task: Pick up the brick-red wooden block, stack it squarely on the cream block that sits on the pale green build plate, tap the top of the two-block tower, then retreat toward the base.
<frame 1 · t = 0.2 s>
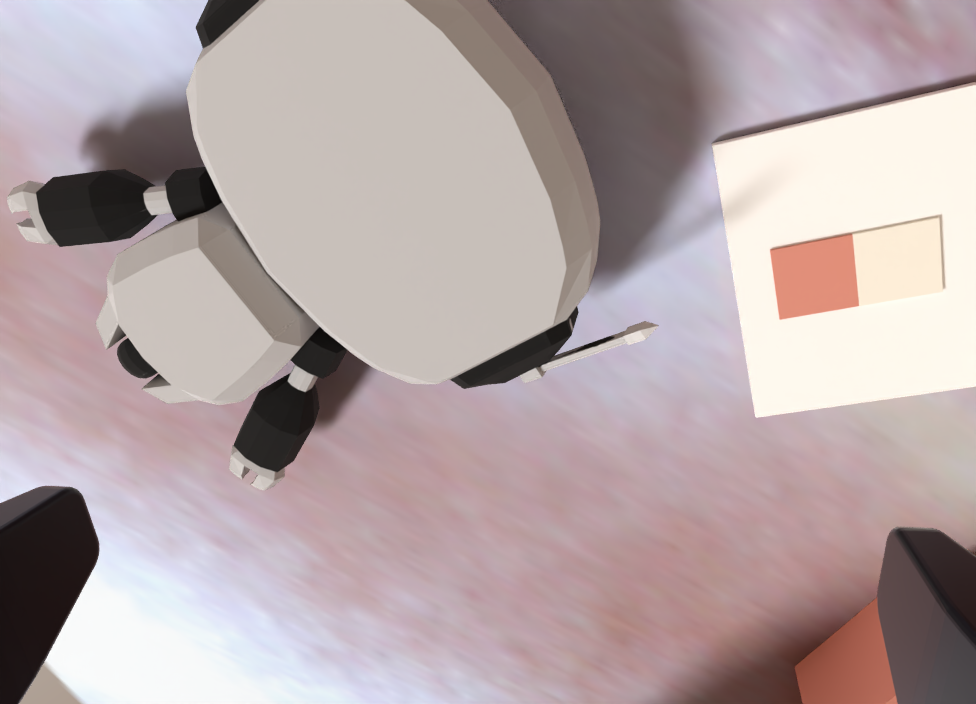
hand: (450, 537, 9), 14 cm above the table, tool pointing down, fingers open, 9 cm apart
red block: (905, 656, 27), on the table
instruction sheet: (852, 265, 21), on the table
robot toy: (341, 212, 23), on the table
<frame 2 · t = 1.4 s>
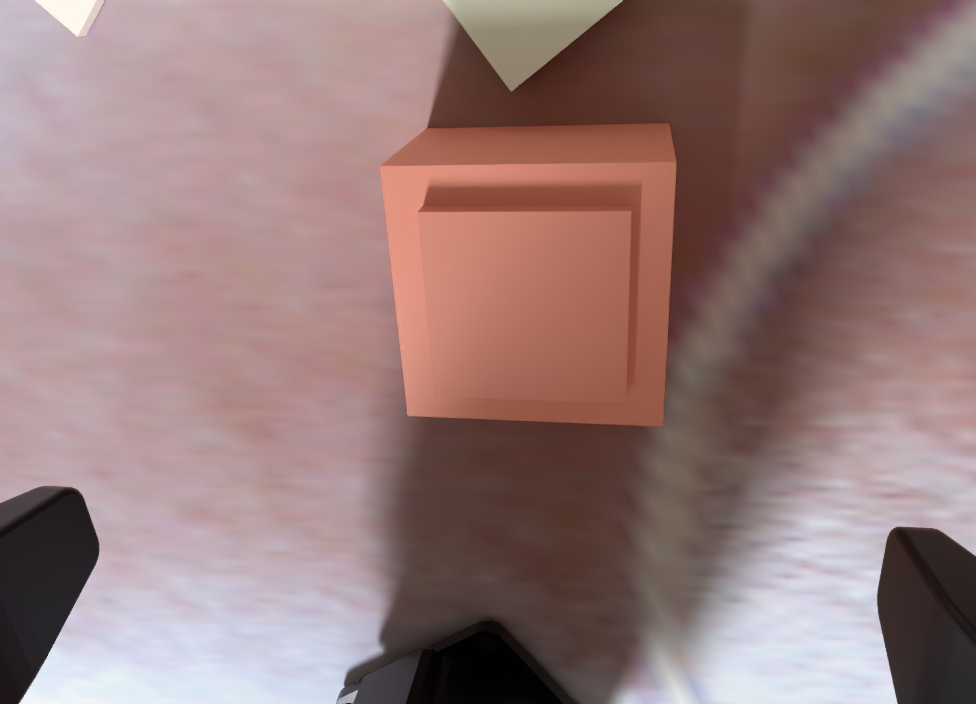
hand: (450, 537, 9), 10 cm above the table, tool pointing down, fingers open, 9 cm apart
red block: (547, 240, 18), on the table
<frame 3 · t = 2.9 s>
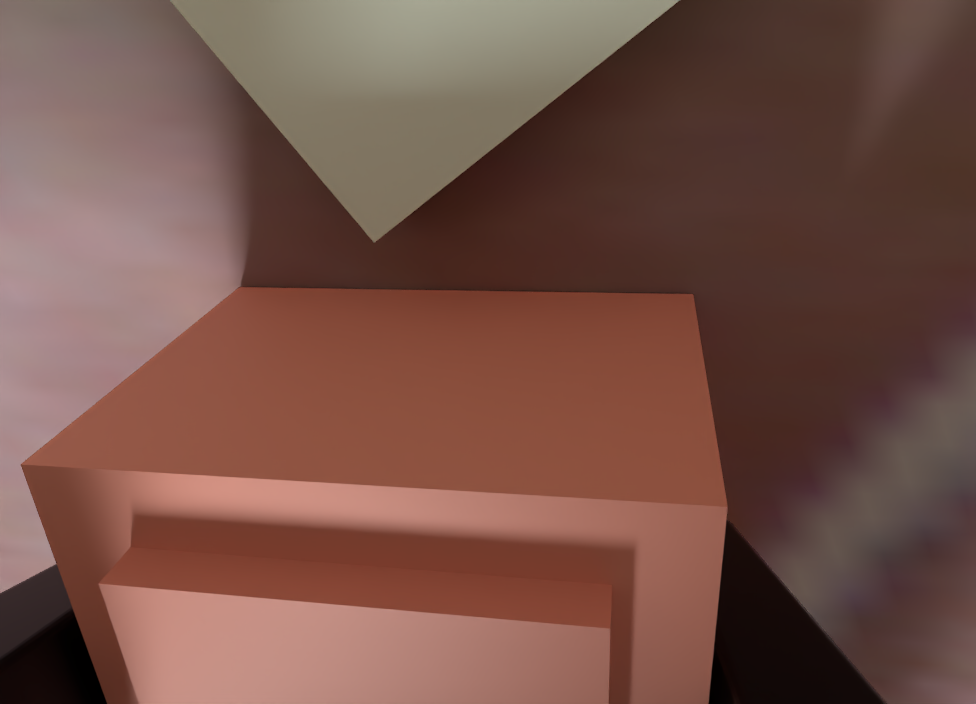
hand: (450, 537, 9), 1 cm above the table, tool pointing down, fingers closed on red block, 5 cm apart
red block: (468, 482, 10), on the table, touching gripper
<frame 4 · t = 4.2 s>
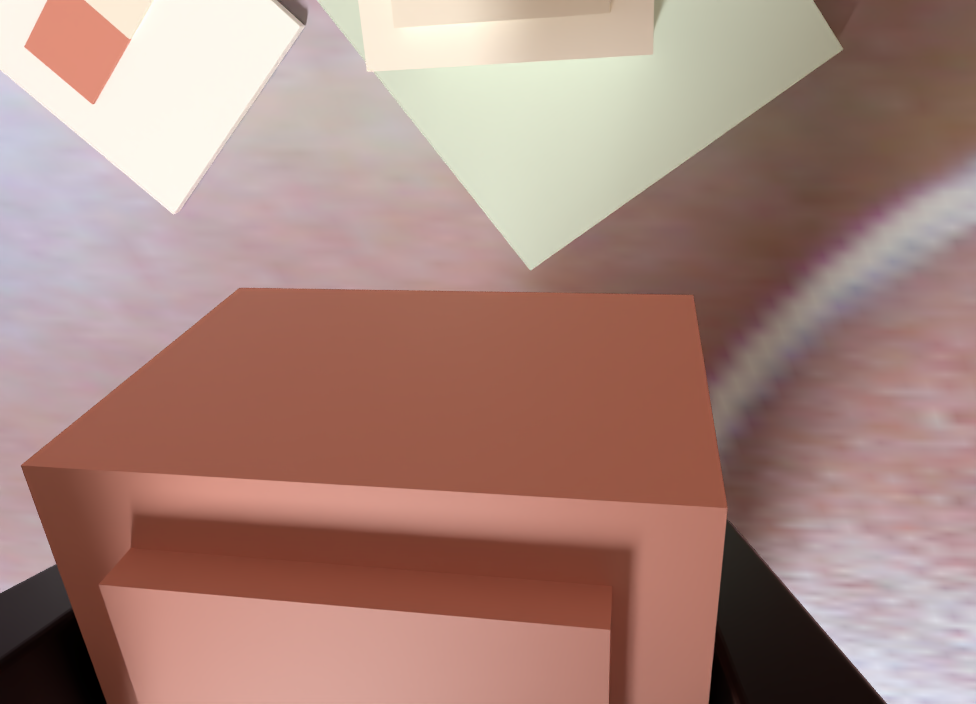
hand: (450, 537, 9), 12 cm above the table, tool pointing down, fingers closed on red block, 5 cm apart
red block: (468, 483, 10), point 11 cm above the table, touching gripper
instruction sheet: (104, 8, 19), on the table
when the fingers open (7 cm above the table, at t = 5.8 s): red block drops 1 cm, resting on cream block.
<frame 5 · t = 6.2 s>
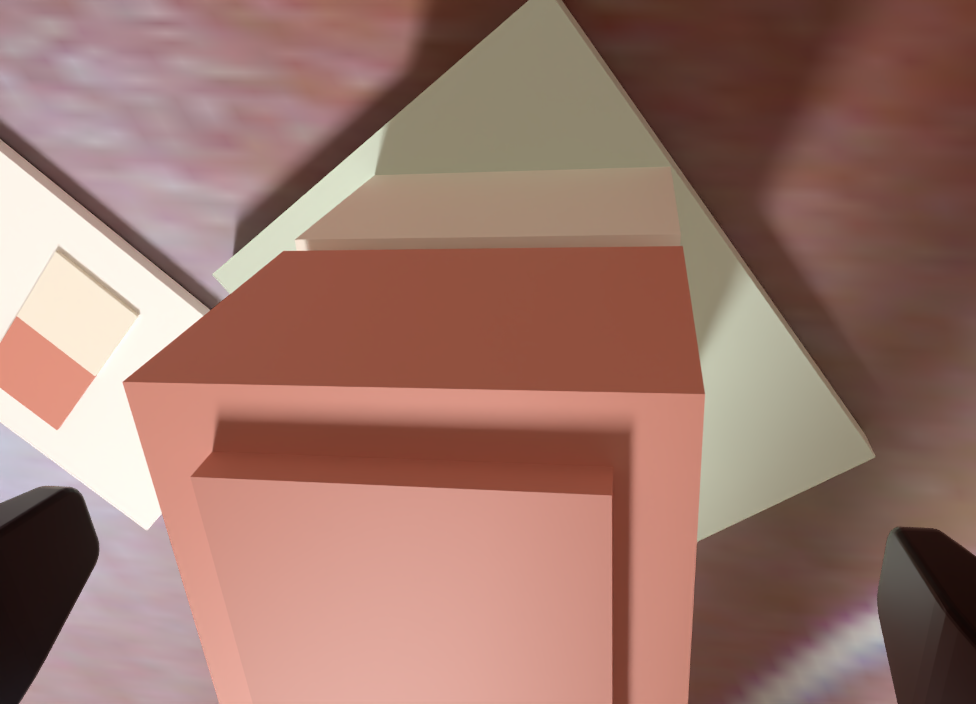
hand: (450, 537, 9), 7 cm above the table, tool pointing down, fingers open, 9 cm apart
red block: (487, 423, 11), point 5 cm above the table, touching cream block
instruction sheet: (67, 338, 17), on the table
cream block: (524, 308, 14), point 1 cm above the table, touching build plate, red block
build plate: (541, 345, 16), on the table
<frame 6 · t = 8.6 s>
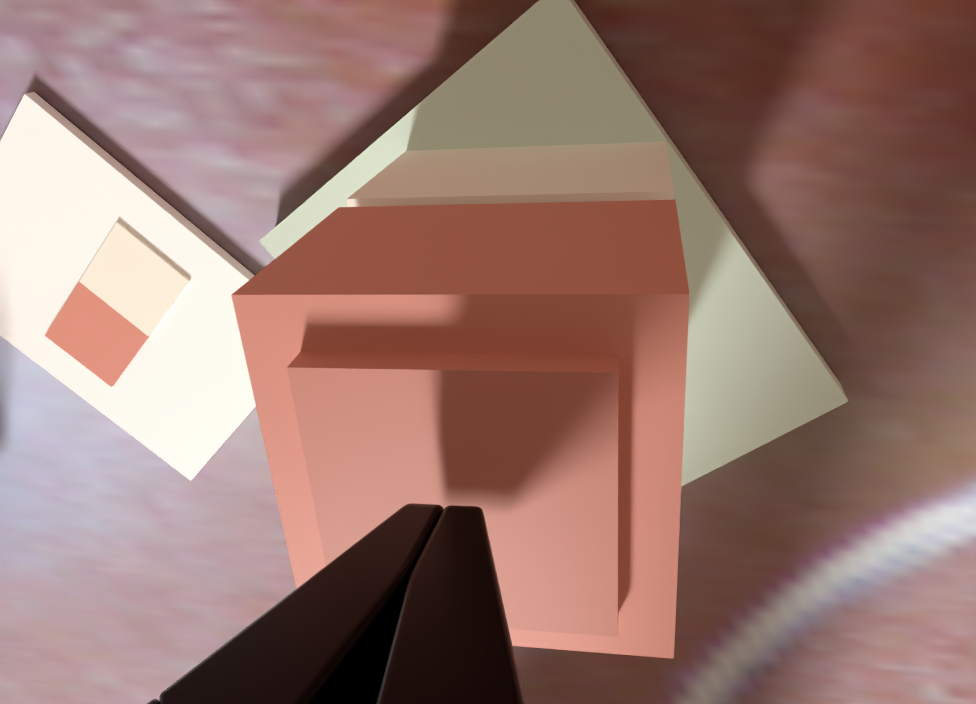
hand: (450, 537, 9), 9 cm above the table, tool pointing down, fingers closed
red block: (510, 356, 13), point 5 cm above the table, touching cream block
instruction sheet: (123, 302, 19), on the table
cream block: (537, 269, 16), point 1 cm above the table, touching build plate, red block
build plate: (551, 305, 17), on the table
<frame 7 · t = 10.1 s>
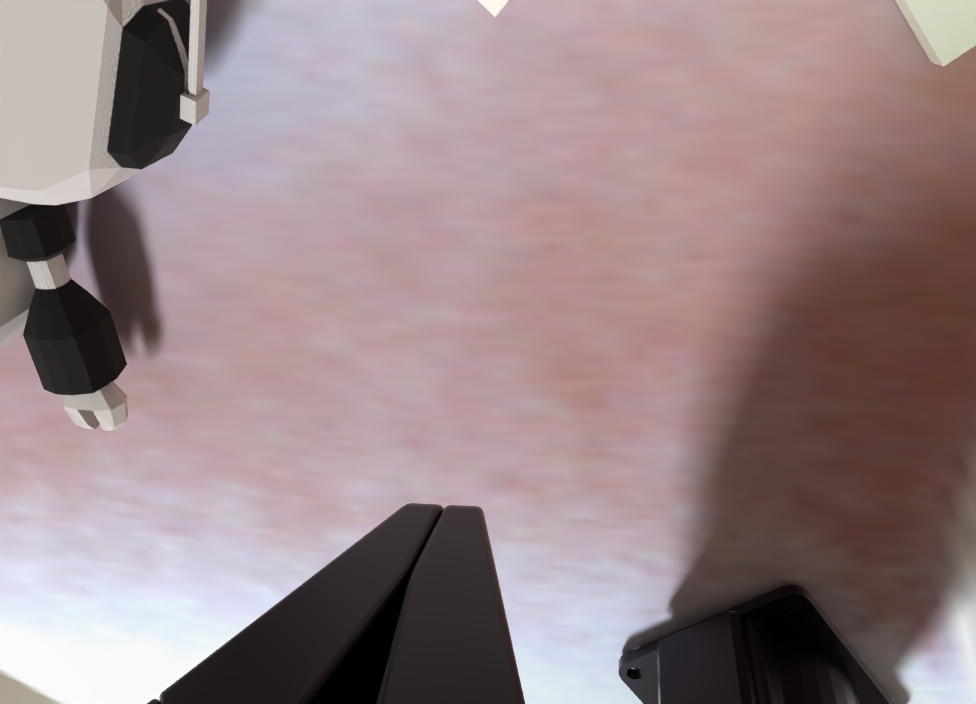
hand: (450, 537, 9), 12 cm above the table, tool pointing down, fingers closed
robot toy: (21, 106, 21), on the table
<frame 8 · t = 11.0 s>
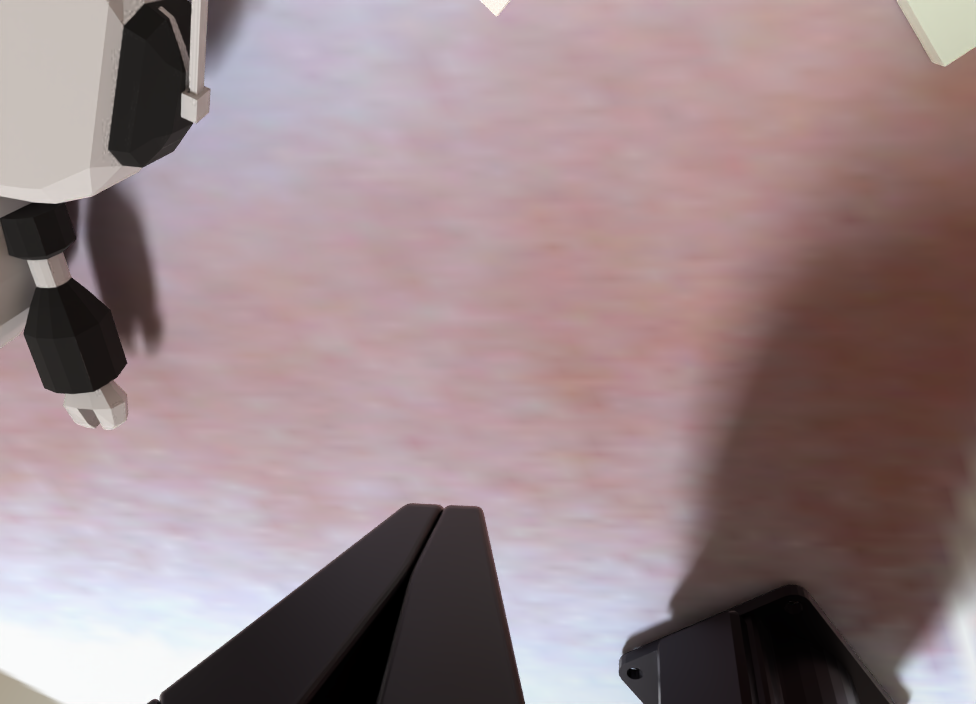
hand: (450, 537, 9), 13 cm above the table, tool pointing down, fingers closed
robot toy: (21, 105, 21), on the table
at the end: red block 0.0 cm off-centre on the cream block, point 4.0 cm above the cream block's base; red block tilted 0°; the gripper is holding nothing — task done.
